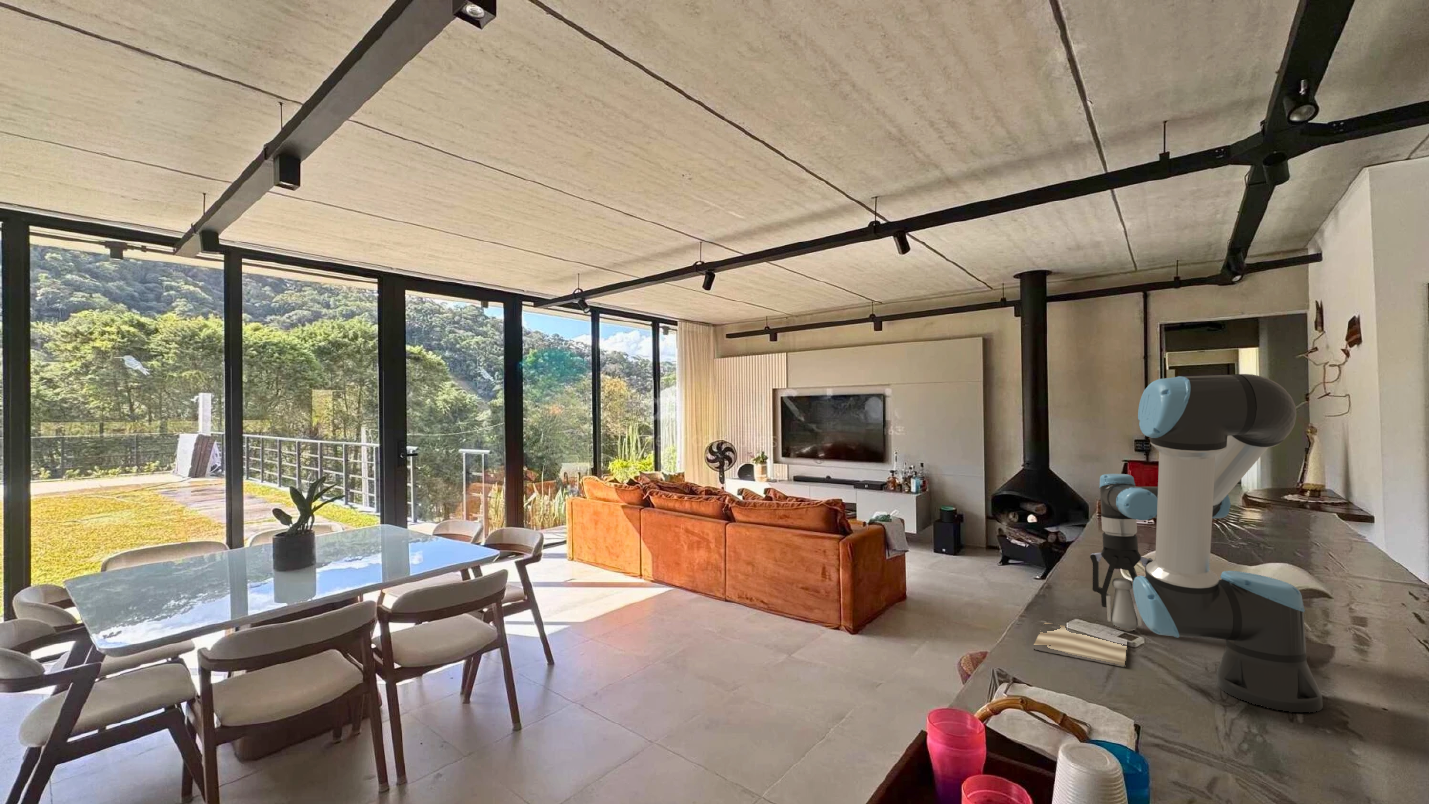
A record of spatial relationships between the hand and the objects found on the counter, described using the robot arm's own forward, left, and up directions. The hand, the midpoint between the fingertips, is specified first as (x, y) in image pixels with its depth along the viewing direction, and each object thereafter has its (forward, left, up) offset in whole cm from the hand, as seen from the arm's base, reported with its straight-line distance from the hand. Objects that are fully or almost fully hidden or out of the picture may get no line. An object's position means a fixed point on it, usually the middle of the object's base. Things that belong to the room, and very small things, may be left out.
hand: (1124, 621), depth 148 cm
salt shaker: (0, 0, -2) cm, 2 cm away
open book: (-18, +8, -2) cm, 20 cm away
